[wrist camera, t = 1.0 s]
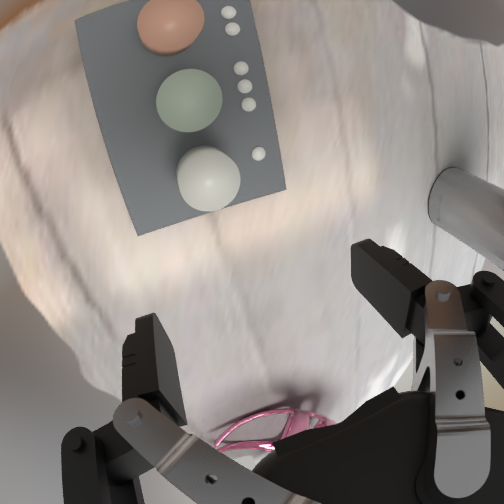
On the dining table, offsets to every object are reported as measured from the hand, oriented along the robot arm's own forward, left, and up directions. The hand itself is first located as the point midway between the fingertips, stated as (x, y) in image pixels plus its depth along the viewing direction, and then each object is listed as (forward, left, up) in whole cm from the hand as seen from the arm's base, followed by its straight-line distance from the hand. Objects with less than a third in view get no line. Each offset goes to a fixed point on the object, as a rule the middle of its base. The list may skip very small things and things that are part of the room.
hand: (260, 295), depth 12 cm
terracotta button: (0, -13, -15) cm, 20 cm away
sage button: (0, -7, -15) cm, 17 cm away
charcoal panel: (0, -7, -18) cm, 20 cm away
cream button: (0, -1, -15) cm, 15 cm away
